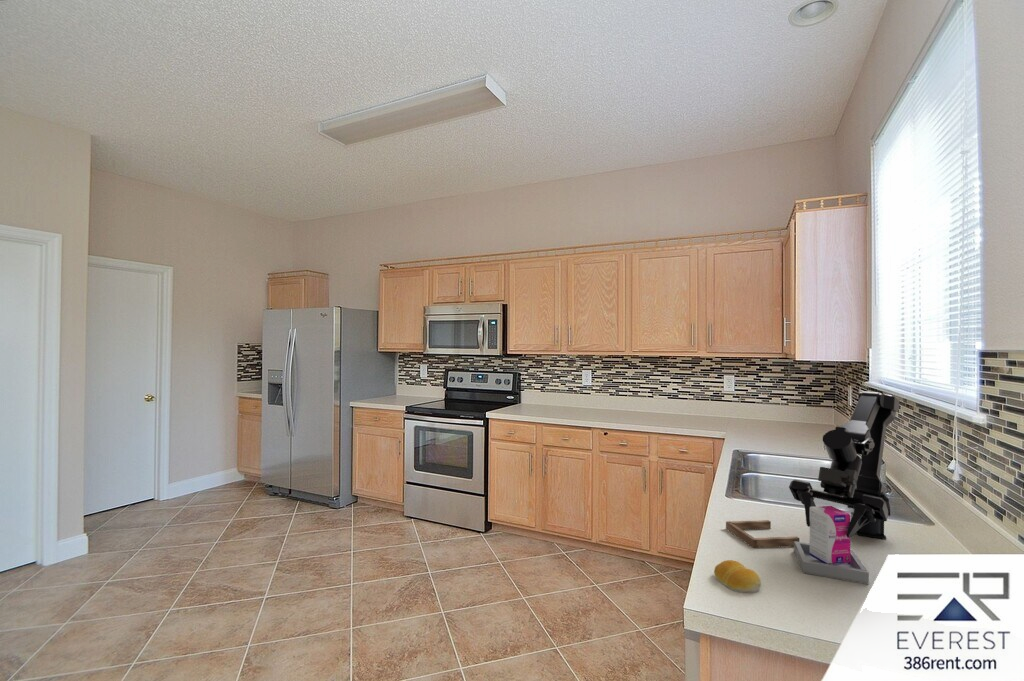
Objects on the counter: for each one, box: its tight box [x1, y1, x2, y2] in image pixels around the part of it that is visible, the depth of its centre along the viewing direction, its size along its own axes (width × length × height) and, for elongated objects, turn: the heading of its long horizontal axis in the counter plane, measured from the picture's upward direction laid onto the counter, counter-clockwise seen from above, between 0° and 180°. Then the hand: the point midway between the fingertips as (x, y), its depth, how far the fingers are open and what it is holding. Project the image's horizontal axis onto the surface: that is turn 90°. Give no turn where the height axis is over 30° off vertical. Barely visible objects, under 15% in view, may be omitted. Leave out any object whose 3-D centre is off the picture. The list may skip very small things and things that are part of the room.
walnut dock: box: [725, 519, 800, 549], centre depth 124 cm, size 12×12×2 cm
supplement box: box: [809, 505, 851, 565], centre depth 108 cm, size 6×6×12 cm
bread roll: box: [713, 559, 762, 594], centre depth 101 cm, size 8×9×4 cm
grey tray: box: [793, 541, 870, 584], centre depth 108 cm, size 12×12×2 cm
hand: (827, 531), depth 108 cm, fingers closed on supplement box, 8 cm apart
